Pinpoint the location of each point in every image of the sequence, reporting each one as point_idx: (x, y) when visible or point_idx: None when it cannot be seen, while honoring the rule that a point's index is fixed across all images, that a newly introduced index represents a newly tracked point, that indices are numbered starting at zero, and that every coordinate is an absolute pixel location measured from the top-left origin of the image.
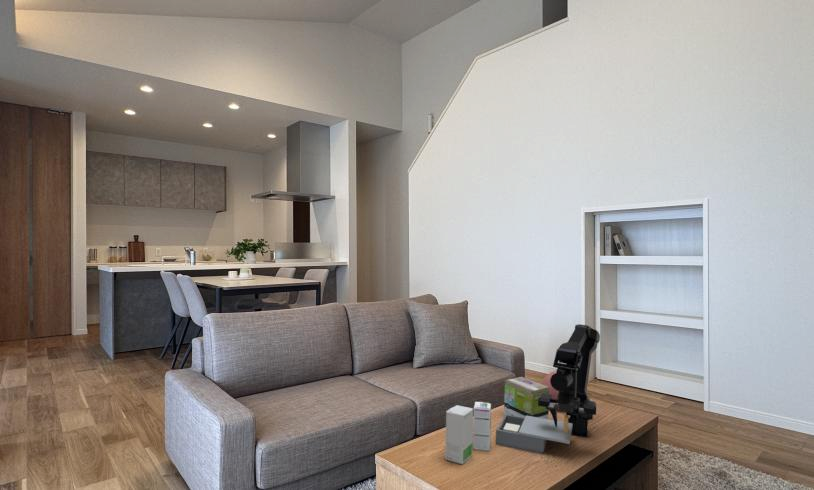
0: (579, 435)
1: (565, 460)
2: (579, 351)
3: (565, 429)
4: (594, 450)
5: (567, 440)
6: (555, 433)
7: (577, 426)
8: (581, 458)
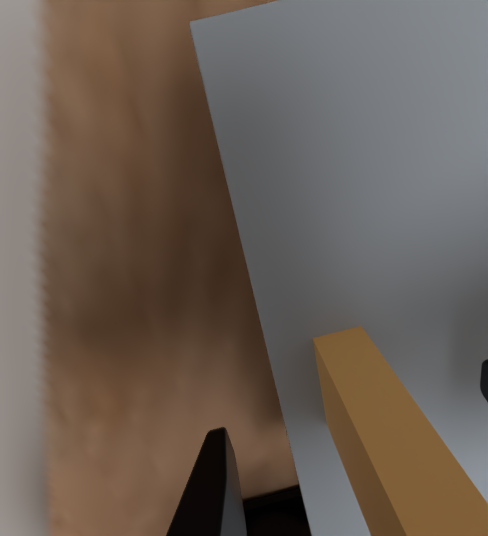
0: (256, 500)
1: (215, 3)
2: None
3: (358, 362)
4: (91, 385)
5: (239, 50)
6: (466, 216)
7: (193, 495)
8: (106, 174)
